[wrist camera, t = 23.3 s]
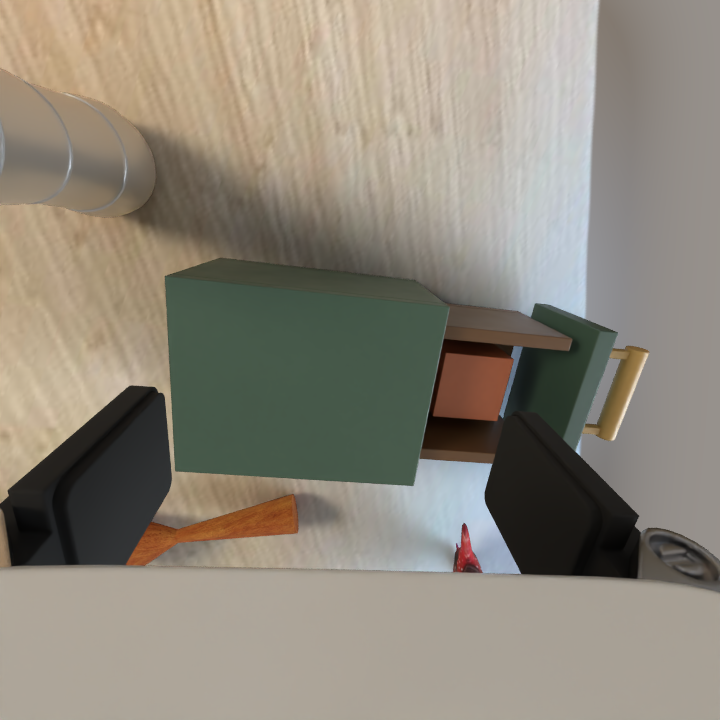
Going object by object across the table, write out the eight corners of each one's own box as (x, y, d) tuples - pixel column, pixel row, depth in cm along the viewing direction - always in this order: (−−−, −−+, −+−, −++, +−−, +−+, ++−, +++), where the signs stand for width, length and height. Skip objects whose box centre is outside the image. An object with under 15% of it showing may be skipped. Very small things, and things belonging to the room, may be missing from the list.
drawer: (612, 311, 30) (701, 341, 23) (572, 426, 34) (637, 484, 26) (377, 285, 28) (392, 308, 21) (361, 410, 32) (368, 466, 25)
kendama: (301, 564, 33) (60, 613, 31) (300, 507, 38) (92, 547, 37) (288, 521, 30) (20, 573, 28) (289, 465, 35) (61, 506, 33)
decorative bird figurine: (454, 606, 42) (488, 718, 33) (428, 477, 36) (461, 569, 26) (479, 601, 42) (521, 711, 32) (458, 470, 36) (502, 560, 26)
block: (429, 332, 29) (445, 352, 24) (487, 338, 29) (514, 359, 25) (418, 388, 30) (432, 416, 26) (474, 393, 31) (497, 421, 26)
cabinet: (415, 279, 29) (450, 306, 20) (392, 413, 33) (413, 486, 24) (219, 257, 28) (164, 275, 19) (220, 400, 32) (174, 471, 23)
